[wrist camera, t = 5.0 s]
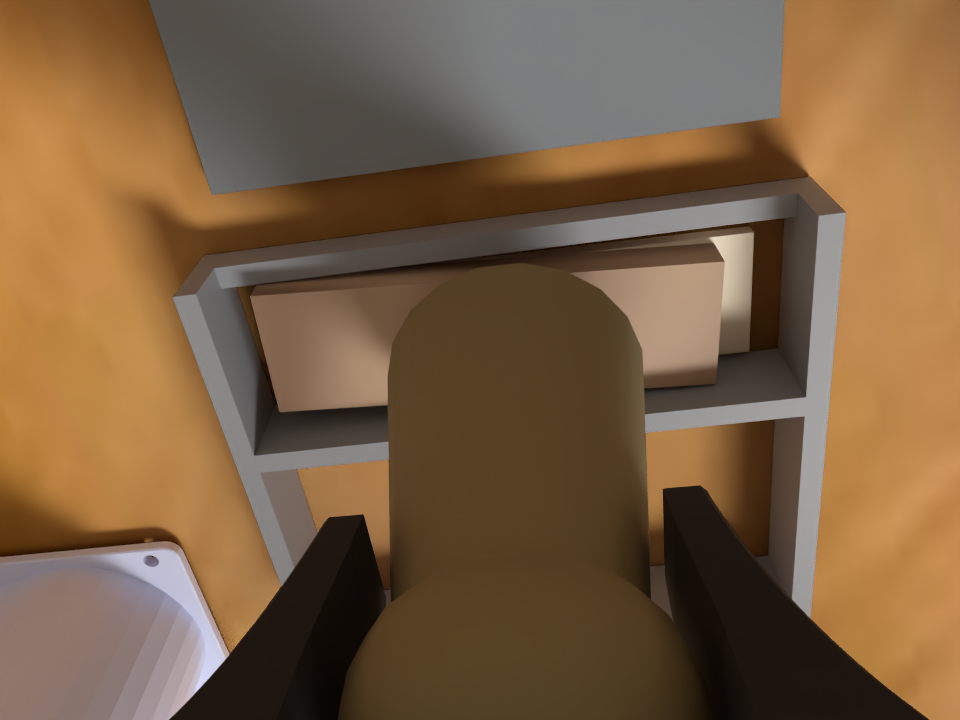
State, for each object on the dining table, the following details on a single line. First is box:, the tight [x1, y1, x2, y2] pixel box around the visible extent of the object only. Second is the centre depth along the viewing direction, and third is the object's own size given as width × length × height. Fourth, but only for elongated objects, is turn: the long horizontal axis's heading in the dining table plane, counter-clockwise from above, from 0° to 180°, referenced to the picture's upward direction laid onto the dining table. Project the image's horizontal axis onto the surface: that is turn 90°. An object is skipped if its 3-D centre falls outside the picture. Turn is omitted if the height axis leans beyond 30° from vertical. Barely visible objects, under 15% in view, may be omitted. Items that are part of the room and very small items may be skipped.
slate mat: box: [149, 0, 785, 195], centre depth 19 cm, size 14×6×1 cm, turn 98°
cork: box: [338, 263, 716, 720], centre depth 15 cm, size 6×6×11 cm
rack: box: [173, 177, 846, 621], centre depth 24 cm, size 16×14×2 cm
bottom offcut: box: [420, 226, 754, 355], centre depth 23 cm, size 13×4×1 cm, turn 98°
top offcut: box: [250, 243, 725, 412], centre depth 22 cm, size 12×4×1 cm, turn 95°
